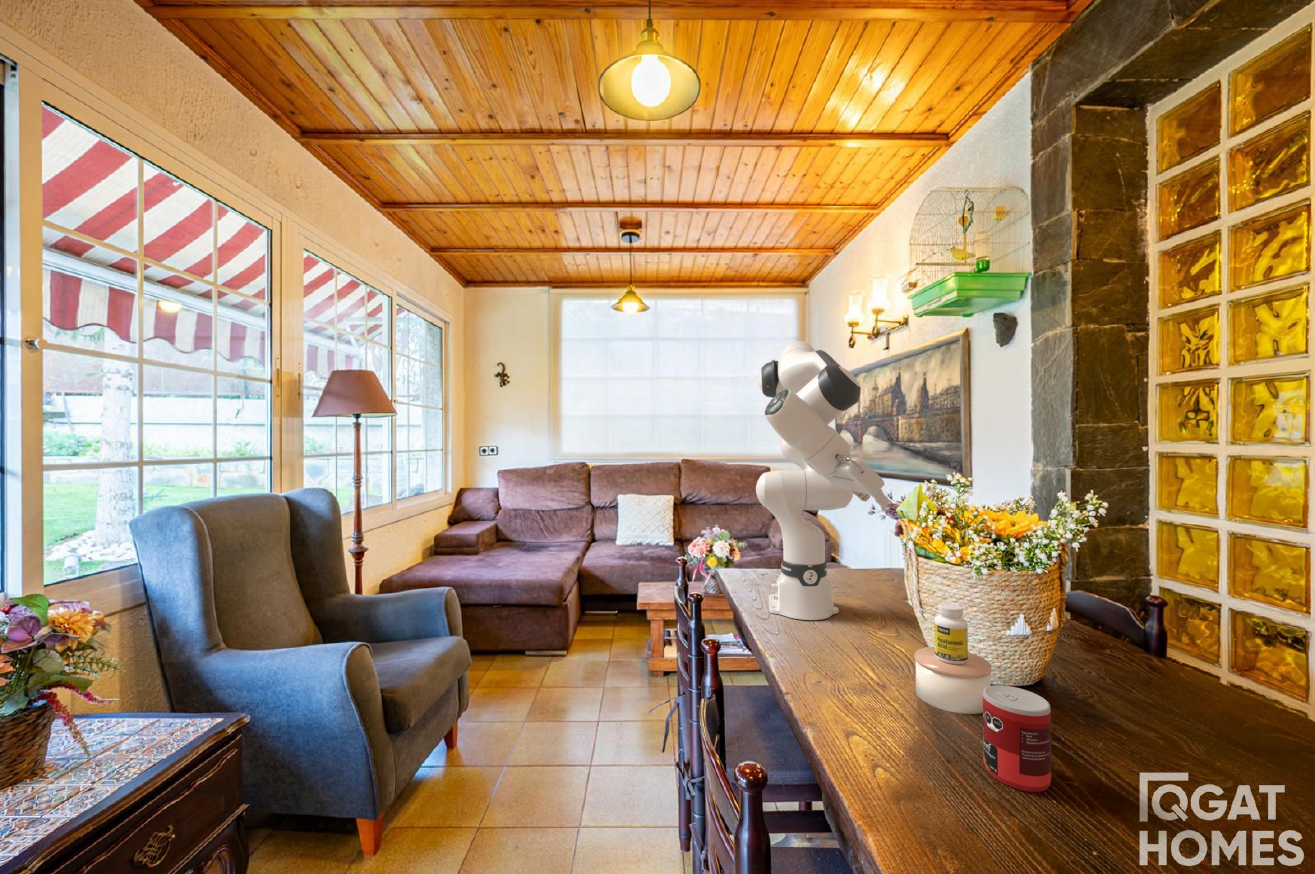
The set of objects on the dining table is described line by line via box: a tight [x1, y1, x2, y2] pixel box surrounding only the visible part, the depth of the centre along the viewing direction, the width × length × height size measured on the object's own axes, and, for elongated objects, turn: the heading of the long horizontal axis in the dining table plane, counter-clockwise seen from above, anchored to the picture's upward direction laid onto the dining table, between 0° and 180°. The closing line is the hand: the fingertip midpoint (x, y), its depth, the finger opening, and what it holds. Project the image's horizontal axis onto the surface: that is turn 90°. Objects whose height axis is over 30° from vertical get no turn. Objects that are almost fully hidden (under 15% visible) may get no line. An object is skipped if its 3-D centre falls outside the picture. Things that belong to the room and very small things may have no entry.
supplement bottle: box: [933, 602, 969, 664], centre depth 99 cm, size 5×5×10 cm
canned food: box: [982, 684, 1052, 793], centre depth 76 cm, size 8×8×11 cm
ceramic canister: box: [913, 646, 992, 715], centre depth 99 cm, size 12×12×7 cm
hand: (876, 501), depth 112 cm, fingers open, 8 cm apart
